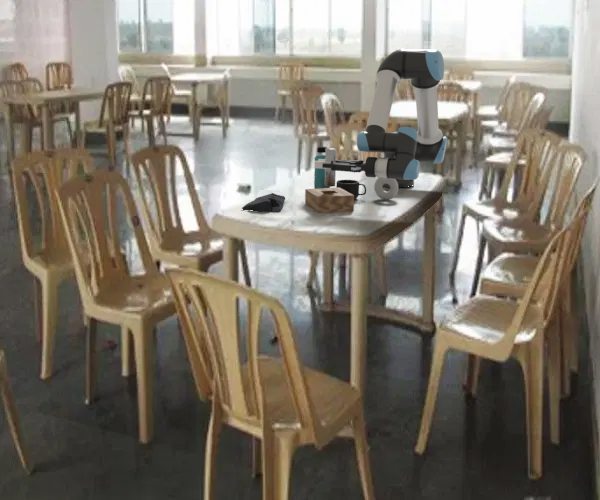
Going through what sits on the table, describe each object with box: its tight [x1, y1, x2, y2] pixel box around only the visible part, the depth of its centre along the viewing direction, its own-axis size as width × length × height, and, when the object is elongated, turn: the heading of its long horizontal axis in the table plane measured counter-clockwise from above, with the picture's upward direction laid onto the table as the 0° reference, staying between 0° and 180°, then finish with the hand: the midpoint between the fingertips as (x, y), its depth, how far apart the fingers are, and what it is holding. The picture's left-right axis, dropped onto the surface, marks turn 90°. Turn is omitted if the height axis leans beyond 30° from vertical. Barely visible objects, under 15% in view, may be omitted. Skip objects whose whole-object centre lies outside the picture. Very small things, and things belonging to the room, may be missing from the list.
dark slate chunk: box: [241, 193, 286, 213], centre depth 323 cm, size 15×22×5 cm
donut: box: [373, 177, 400, 201], centre depth 336 cm, size 10×4×10 cm, turn 67°
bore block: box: [304, 187, 355, 214], centre depth 321 cm, size 14×16×6 cm
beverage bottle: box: [313, 146, 331, 189], centre depth 342 cm, size 6×7×20 cm
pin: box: [324, 147, 337, 188], centre depth 318 cm, size 4×4×14 cm
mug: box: [335, 179, 367, 200], centre depth 337 cm, size 12×9×7 cm
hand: (316, 163), depth 319 cm, fingers closed on pin, 4 cm apart
